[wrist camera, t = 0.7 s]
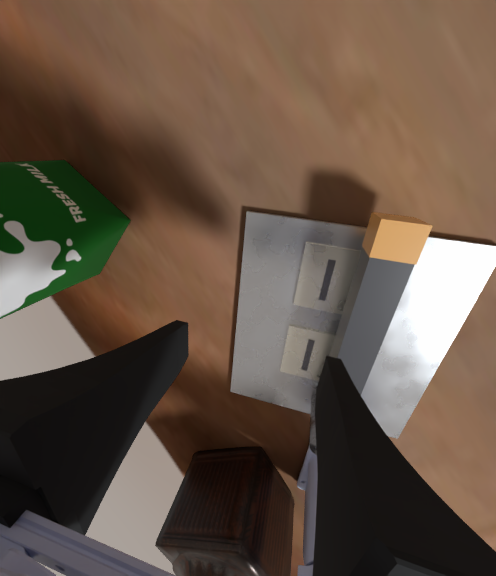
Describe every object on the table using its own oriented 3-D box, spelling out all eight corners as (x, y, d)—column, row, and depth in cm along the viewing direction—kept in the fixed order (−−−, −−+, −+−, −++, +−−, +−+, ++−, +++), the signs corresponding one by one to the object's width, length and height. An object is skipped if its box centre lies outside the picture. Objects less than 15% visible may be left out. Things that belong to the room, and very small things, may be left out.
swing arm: (342, 407, 21) (345, 434, 19) (314, 400, 21) (314, 426, 19) (414, 217, 14) (432, 225, 12) (371, 212, 15) (381, 218, 12)
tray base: (395, 432, 23) (414, 493, 19) (232, 387, 26) (214, 430, 22) (498, 245, 15) (571, 274, 11) (248, 210, 18) (226, 222, 14)
